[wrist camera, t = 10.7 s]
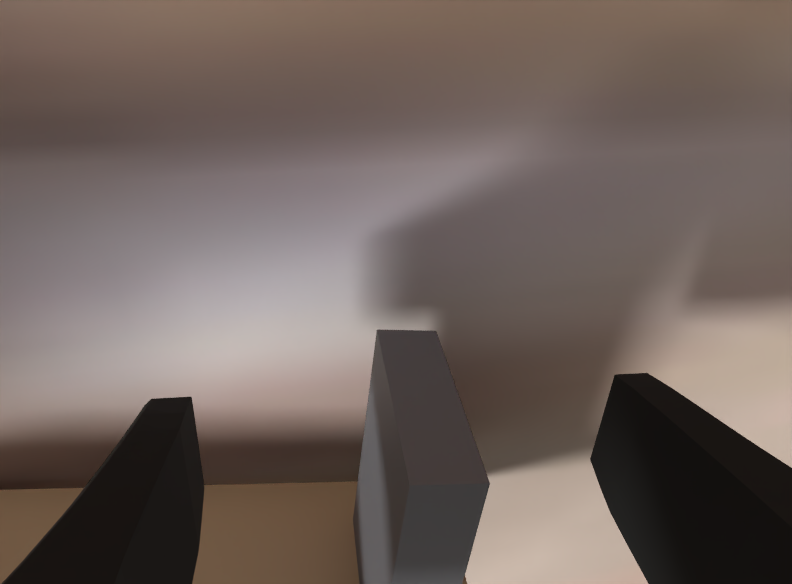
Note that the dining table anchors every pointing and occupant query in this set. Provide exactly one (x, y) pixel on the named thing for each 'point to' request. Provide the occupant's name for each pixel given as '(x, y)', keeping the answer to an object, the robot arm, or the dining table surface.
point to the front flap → (335, 495)
